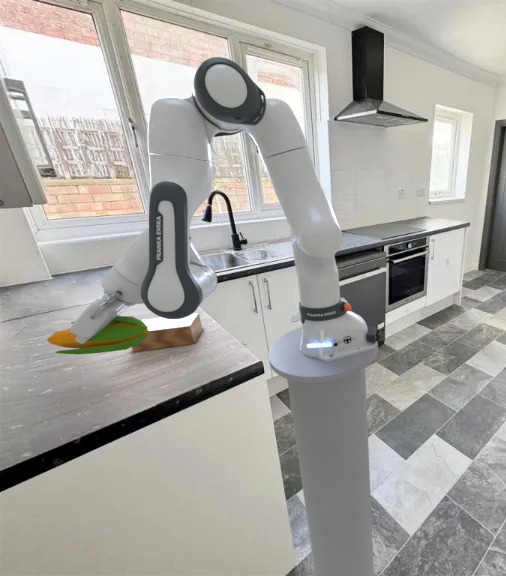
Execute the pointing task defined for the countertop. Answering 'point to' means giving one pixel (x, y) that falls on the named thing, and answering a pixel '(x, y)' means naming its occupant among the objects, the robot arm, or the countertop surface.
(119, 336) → the corn
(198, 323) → the block
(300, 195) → the robot arm
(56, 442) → the countertop surface
